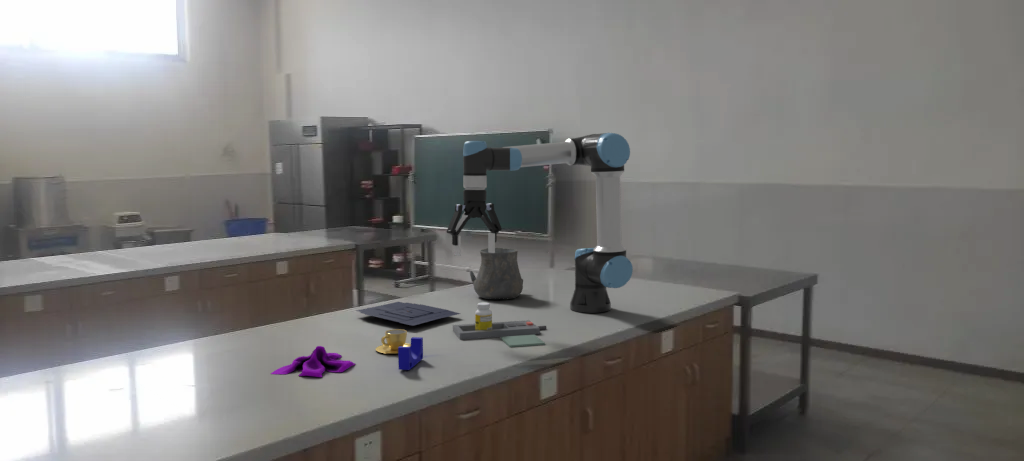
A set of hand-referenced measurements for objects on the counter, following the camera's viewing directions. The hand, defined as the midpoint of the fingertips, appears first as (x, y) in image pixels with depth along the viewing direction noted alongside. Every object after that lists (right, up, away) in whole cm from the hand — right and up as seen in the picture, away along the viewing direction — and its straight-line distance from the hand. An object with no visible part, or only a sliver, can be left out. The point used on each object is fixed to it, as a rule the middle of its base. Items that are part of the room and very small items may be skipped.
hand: (474, 254), depth 242 cm
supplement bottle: (+3, -26, -3) cm, 26 cm away
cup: (-22, -28, -22) cm, 42 cm away
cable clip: (-16, -29, -37) cm, 50 cm away
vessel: (+8, -20, +57) cm, 61 cm away
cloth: (-42, -30, -40) cm, 65 cm away
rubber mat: (+15, -26, -14) cm, 34 cm away
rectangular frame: (+9, -25, -1) cm, 27 cm away
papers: (-25, -24, +18) cm, 39 cm away
